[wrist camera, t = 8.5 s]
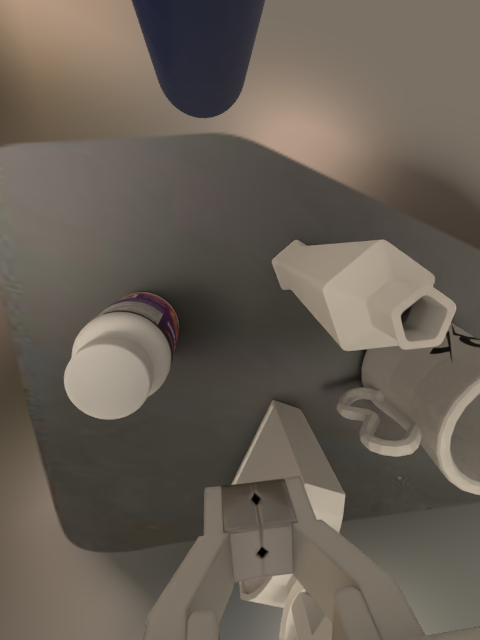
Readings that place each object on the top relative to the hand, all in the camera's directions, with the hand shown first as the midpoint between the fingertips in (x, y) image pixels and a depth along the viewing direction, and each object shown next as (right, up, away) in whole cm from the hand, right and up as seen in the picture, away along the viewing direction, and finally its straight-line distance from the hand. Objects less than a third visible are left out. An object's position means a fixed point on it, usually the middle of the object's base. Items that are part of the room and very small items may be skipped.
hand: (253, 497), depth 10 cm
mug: (+13, +1, +18) cm, 22 cm away
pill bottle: (-8, +5, +15) cm, 17 cm away
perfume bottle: (+4, +10, +15) cm, 18 cm away
